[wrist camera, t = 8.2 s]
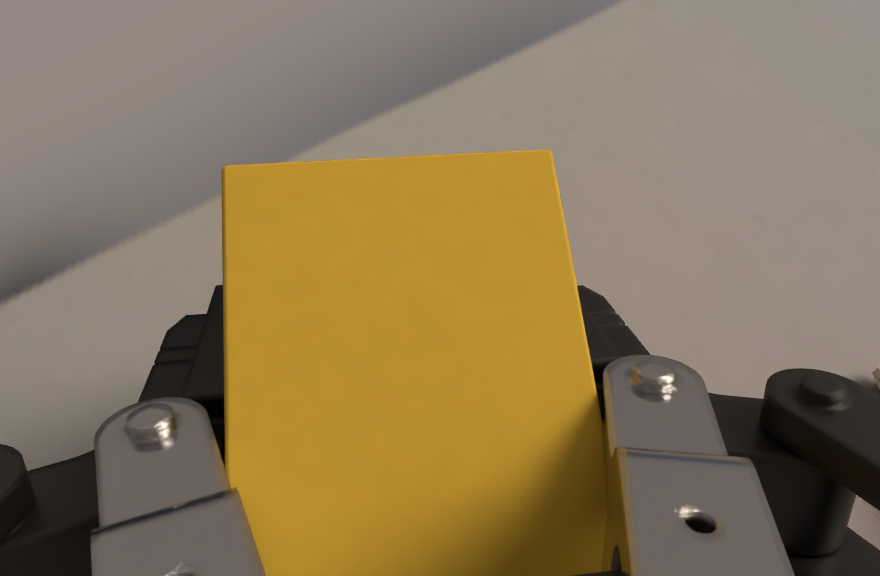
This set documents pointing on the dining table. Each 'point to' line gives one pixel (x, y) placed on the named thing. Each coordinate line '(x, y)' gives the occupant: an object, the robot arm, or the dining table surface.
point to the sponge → (409, 369)
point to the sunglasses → (877, 376)
